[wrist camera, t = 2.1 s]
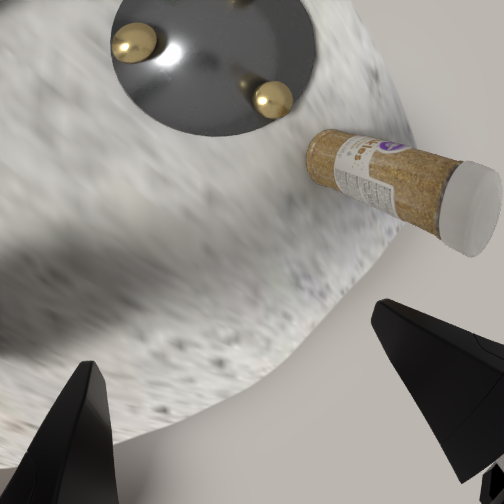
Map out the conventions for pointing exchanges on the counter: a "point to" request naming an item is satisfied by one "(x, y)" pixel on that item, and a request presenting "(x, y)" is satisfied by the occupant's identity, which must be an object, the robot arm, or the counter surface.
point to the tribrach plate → (213, 61)
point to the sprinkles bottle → (412, 186)
